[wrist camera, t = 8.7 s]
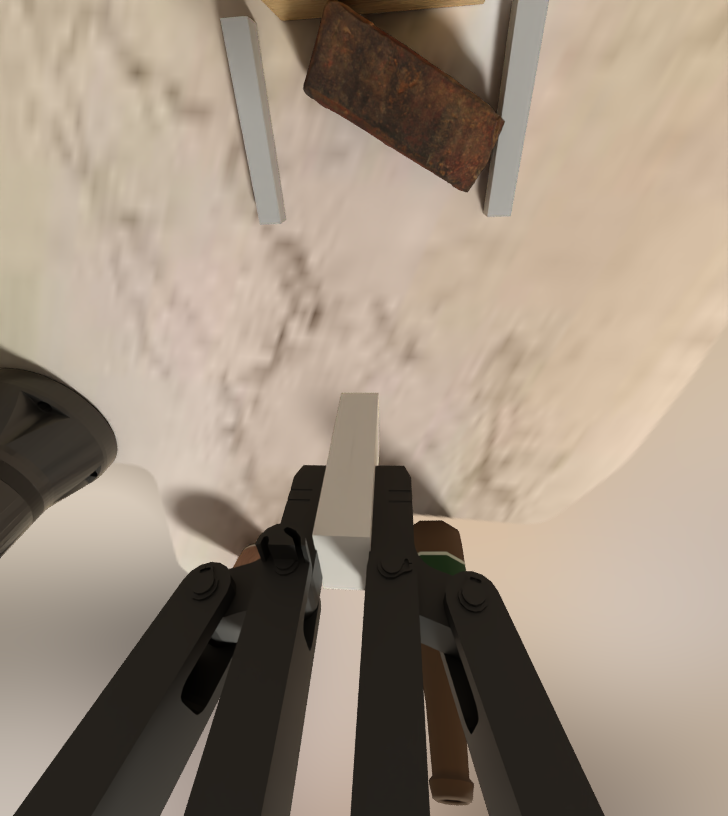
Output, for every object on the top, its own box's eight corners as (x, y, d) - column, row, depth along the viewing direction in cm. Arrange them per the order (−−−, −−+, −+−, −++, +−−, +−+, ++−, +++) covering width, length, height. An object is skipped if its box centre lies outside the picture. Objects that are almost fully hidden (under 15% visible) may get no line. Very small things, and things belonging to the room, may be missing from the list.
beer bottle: (413, 512, 45) (423, 788, 26) (471, 526, 46) (523, 804, 27) (394, 545, 50) (390, 800, 31) (447, 557, 51) (476, 814, 31)
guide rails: (266, 220, 27) (259, 224, 25) (230, 25, 21) (219, 18, 19) (505, 212, 25) (510, 216, 24) (541, -2, 19) (550, -11, 18)
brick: (314, 99, 22) (298, 92, 19) (340, 15, 20) (327, -12, 16) (459, 188, 25) (469, 198, 21) (496, 122, 22) (516, 119, 19)
